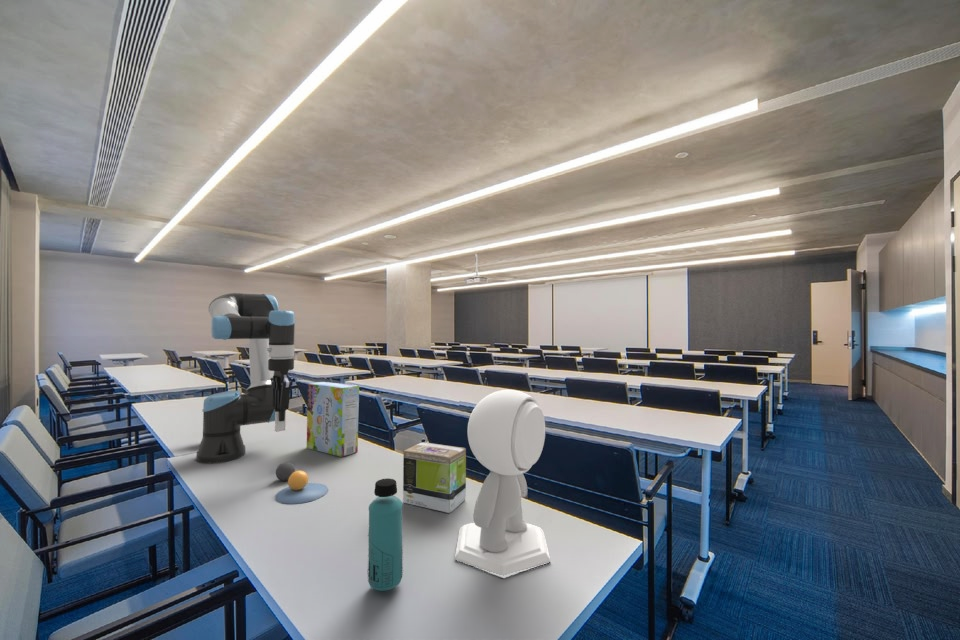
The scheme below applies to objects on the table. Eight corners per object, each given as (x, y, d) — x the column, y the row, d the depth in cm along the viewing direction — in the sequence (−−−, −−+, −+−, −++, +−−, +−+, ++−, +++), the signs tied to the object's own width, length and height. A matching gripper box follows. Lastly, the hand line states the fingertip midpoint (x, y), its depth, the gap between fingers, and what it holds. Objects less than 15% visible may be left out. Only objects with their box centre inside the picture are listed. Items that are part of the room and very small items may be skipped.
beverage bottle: (409, 581, 76) (410, 476, 76) (390, 604, 70) (391, 490, 70) (379, 574, 78) (381, 472, 79) (359, 595, 72) (360, 485, 72)
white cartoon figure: (530, 590, 74) (531, 402, 75) (433, 551, 86) (435, 390, 87) (566, 541, 91) (568, 388, 91) (481, 515, 103) (483, 380, 104)
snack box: (359, 452, 153) (360, 385, 153) (341, 458, 145) (342, 388, 146) (323, 442, 164) (324, 380, 164) (304, 448, 157) (305, 382, 157)
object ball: (297, 463, 120) (304, 471, 116) (307, 475, 122) (314, 482, 118) (281, 478, 117) (288, 486, 113) (291, 489, 119) (298, 497, 116)
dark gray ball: (290, 462, 123) (292, 480, 122) (296, 459, 128) (298, 476, 127) (272, 465, 122) (273, 484, 121) (278, 462, 127) (279, 479, 127)
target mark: (295, 482, 123) (295, 481, 123) (337, 485, 121) (337, 484, 121) (263, 501, 109) (263, 501, 109) (310, 506, 107) (310, 505, 107)
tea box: (466, 499, 112) (467, 447, 112) (449, 515, 103) (449, 457, 103) (421, 489, 119) (422, 440, 119) (401, 503, 109) (402, 449, 110)
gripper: (262, 357, 131) (261, 428, 131) (275, 359, 122) (274, 437, 122) (286, 356, 136) (285, 424, 136) (300, 358, 127) (299, 432, 127)
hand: (280, 430), depth 129 cm, fingers closed
